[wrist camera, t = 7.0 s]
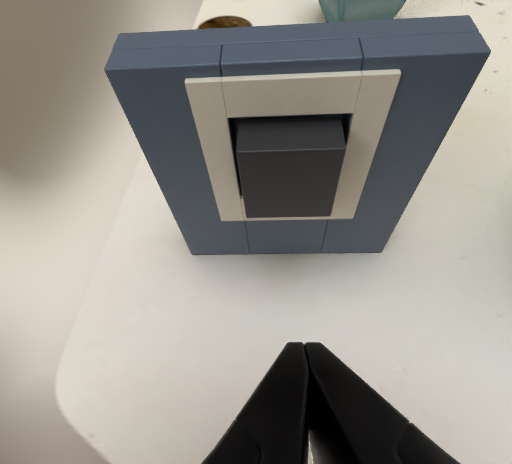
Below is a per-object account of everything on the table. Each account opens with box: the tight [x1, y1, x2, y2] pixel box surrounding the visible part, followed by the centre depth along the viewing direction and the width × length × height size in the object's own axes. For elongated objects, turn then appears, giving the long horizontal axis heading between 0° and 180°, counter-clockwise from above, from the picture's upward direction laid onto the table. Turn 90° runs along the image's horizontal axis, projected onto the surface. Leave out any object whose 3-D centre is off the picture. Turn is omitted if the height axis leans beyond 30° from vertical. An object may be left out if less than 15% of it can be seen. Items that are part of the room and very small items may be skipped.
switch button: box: [236, 116, 346, 218], centre depth 16 cm, size 2×4×5 cm, turn 89°
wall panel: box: [105, 15, 491, 255], centre depth 19 cm, size 3×14×15 cm, turn 89°
